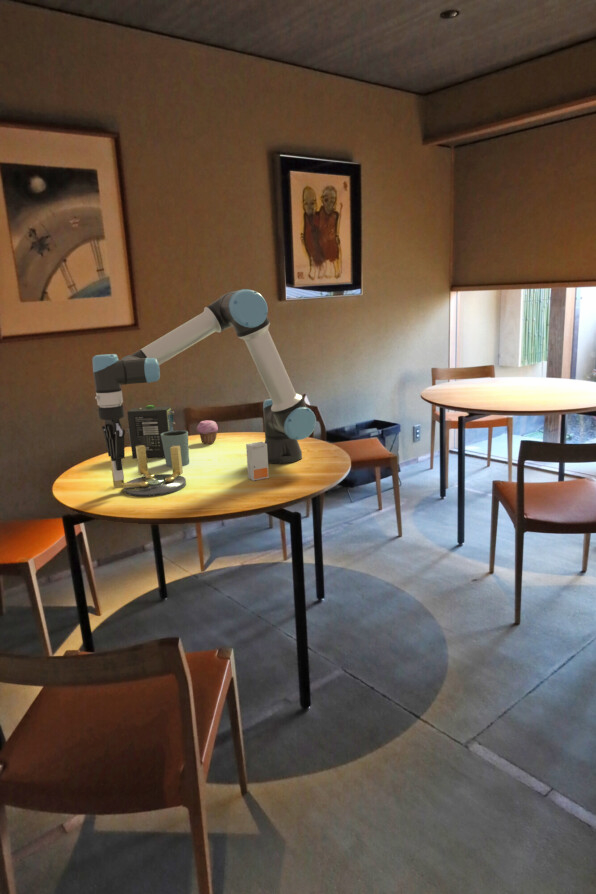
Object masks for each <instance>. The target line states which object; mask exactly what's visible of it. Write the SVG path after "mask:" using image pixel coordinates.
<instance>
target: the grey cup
mask: <svg viewBox="0 0 596 894" xmlns="http://www.w3.org/2000/svg"><path fill="white" fill-rule="evenodd" d="M161 439H162V444H163V450H164V455H165V457H164V460H165V464H166V465H165V466H167V467H168V468H169V467H170V468H172V460H171V451H170V448H171V447H172V446H180V449H181V460H182V467H185V466H187V465H189V464H190V455H189V432H188V430H182V429H179V430H178V429H177V430H173V431H168V432H164V433H162V434H161Z"/></svg>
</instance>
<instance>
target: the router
mask: <svg viewBox="0 0 596 894" xmlns="http://www.w3.org/2000/svg"><path fill="white" fill-rule="evenodd" d="M174 414H175V411H174V410H172V407H171V406H155V405H154V404H149V405H146V406H145V407H134V408H133V407H132V408H131V409H129V410H128V411H127V420H128V421H127V423H128V428H126V431H125V434H128V436H129V445H128V446H127V447H128V448H131V455H132V456H131V457H132V459H136V460H137V454H136V446H140V445H144V446H145V449H146V458H147V459H160V458H165V455H164V450H163V444H162V439H161V434H162V433H164V432H168V431H174V427H173V426H174V425H176V422H174Z"/></svg>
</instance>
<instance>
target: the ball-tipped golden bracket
mask: <svg viewBox="0 0 596 894" xmlns="http://www.w3.org/2000/svg"><path fill="white" fill-rule="evenodd" d="M110 466H111V476H112V482H113V489H124V488H126V487H148V482H147V481H143V482H138V483H127V482H125V478H124V479H123V480H118V481H115V480H114V474H113V466H112V460H111V459H110Z"/></svg>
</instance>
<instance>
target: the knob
mask: <svg viewBox="0 0 596 894" xmlns="http://www.w3.org/2000/svg"><path fill="white" fill-rule="evenodd" d="M136 454H137V459H136V460H137V468H138V474H140V475H142V476H143V477H144V476H145V477H146V479H147V480H148V479H151V478H155V477H154V475H155V474H154V473H150V471H149V469H148V460H147V459H148V458H146V449H145V446H144V445H140V446H136Z"/></svg>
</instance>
